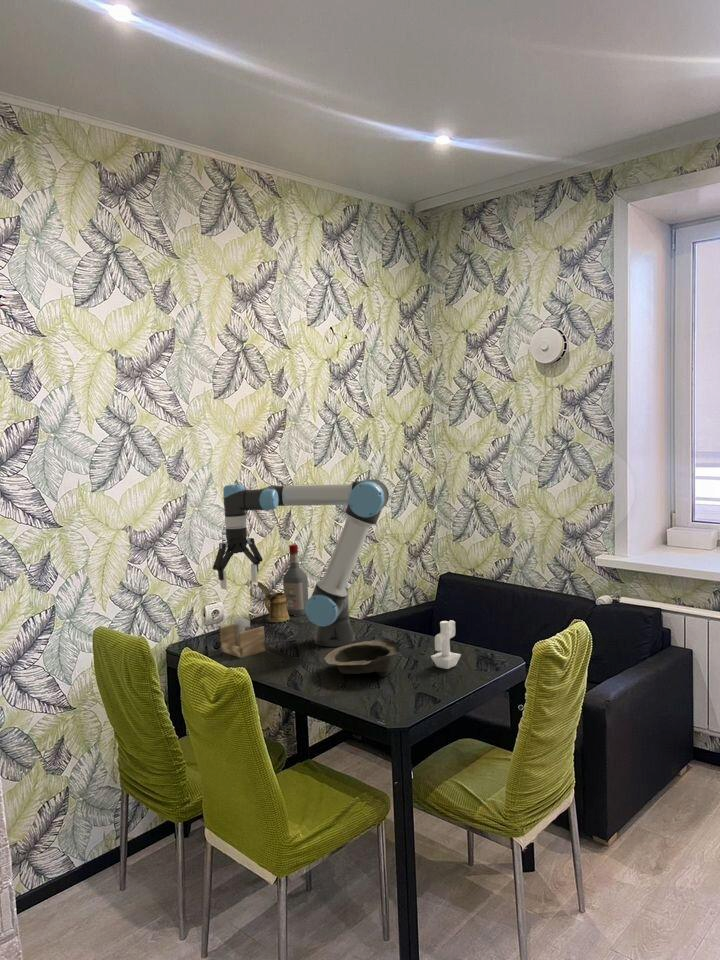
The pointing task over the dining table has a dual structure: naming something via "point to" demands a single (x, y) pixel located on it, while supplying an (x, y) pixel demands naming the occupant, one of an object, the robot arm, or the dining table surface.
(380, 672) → the stone bowl
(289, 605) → the liquor
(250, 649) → the open wooden box
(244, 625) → the bracket
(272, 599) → the wooden mug
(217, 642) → the dining table surface
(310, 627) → the dining table surface
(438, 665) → the figurine
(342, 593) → the robot arm
